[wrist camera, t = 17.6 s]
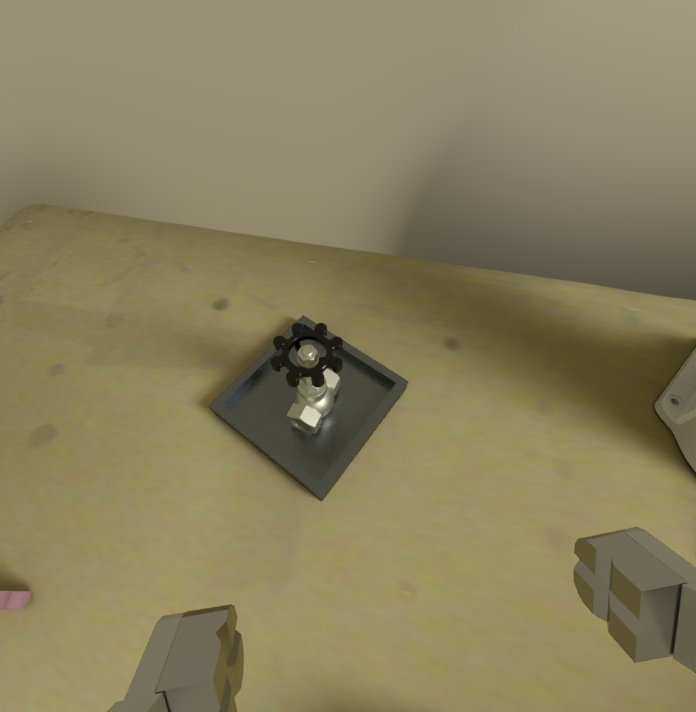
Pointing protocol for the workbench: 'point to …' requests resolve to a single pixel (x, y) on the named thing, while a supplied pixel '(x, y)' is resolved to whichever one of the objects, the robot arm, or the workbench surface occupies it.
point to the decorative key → (14, 599)
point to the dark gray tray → (338, 428)
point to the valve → (309, 375)
